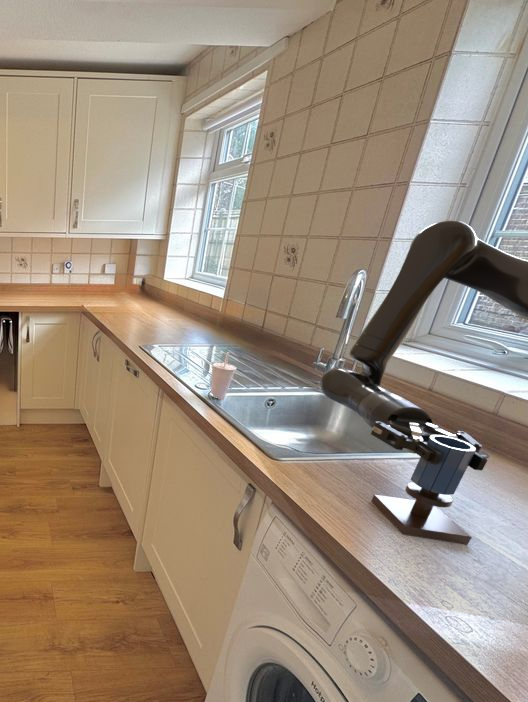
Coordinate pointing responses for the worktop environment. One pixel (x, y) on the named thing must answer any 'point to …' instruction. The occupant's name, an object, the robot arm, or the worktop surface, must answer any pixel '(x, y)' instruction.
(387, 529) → the worktop surface
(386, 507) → the stand
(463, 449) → the blue hollow faceted cylinder
